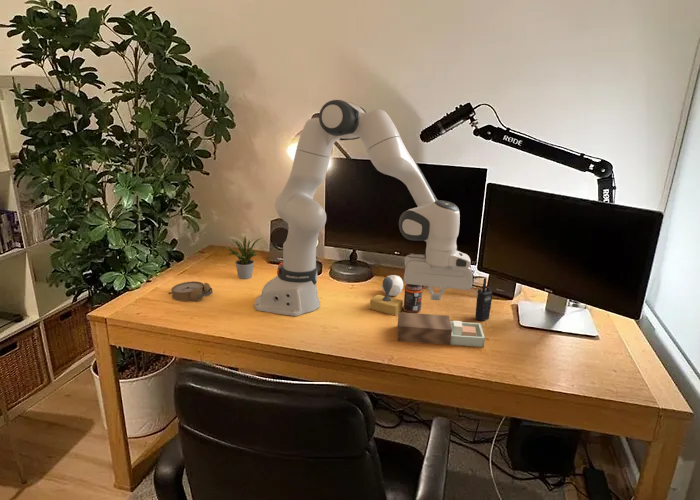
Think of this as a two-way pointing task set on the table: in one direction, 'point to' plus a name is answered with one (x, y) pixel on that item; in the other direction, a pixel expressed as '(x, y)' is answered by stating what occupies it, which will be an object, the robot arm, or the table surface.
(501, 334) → the table surface
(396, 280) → the motion sensor
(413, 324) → the dark wooden box
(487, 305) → the two-way radio
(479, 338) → the tray
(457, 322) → the cream tile
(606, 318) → the table surface
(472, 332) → the terracotta tile
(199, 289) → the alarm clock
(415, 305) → the supplement bottle
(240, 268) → the house plant
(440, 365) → the table surface
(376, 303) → the rubber stamp
